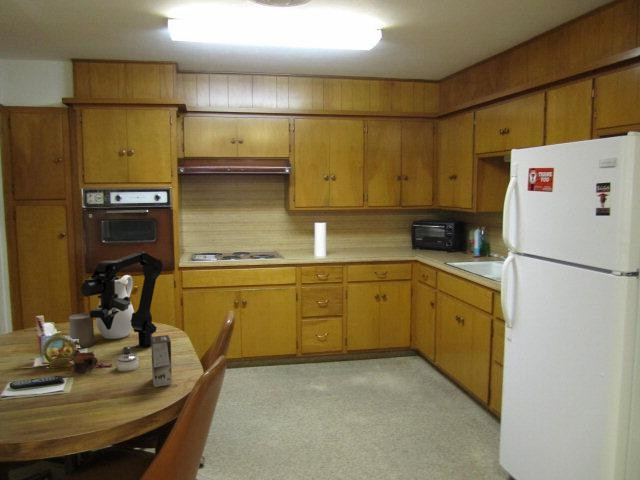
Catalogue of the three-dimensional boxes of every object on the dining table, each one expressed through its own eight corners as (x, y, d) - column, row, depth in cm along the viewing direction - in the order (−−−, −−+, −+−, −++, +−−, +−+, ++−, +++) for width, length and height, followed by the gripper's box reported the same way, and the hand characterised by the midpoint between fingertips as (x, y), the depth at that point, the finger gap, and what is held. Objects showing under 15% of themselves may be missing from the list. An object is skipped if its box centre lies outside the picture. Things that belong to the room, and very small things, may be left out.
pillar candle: (99, 342, 225) (97, 310, 223) (85, 349, 215) (83, 316, 214) (79, 341, 226) (78, 309, 225) (65, 348, 217) (63, 315, 215)
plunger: (123, 354, 198) (122, 344, 197) (140, 355, 197) (139, 345, 196) (114, 360, 190) (113, 350, 190) (131, 361, 190) (131, 350, 189)
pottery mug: (63, 375, 187) (66, 353, 190) (82, 378, 195) (85, 357, 198) (87, 371, 183) (90, 349, 186) (106, 374, 191) (108, 353, 195)
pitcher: (122, 342, 226) (120, 282, 223) (88, 339, 229) (86, 281, 226) (148, 327, 249) (147, 273, 246) (118, 325, 252) (116, 272, 249)
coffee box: (172, 384, 178) (171, 341, 176) (153, 387, 175) (152, 343, 173) (169, 375, 186) (168, 334, 184) (151, 378, 184) (150, 336, 182)
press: (125, 361, 201) (125, 353, 201) (145, 362, 200) (144, 353, 200) (112, 371, 190) (112, 362, 190) (132, 371, 190) (132, 363, 189)
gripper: (115, 297, 191) (116, 336, 193) (137, 288, 210) (138, 323, 211) (87, 296, 192) (89, 335, 194) (111, 287, 211) (113, 322, 212)
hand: (109, 329), depth 203 cm, fingers closed
